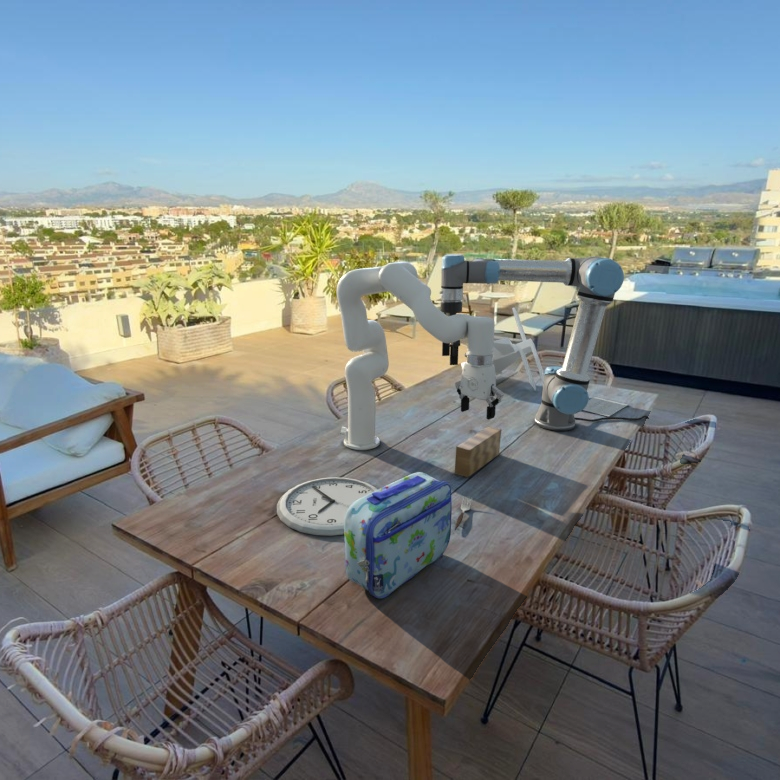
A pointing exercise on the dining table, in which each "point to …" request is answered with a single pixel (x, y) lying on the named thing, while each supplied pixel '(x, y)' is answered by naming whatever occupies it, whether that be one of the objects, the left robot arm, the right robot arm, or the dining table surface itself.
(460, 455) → the bar
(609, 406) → the invitation card
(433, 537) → the lunch box
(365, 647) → the dining table surface
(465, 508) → the fork
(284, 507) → the wall clock
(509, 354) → the white plastic object
